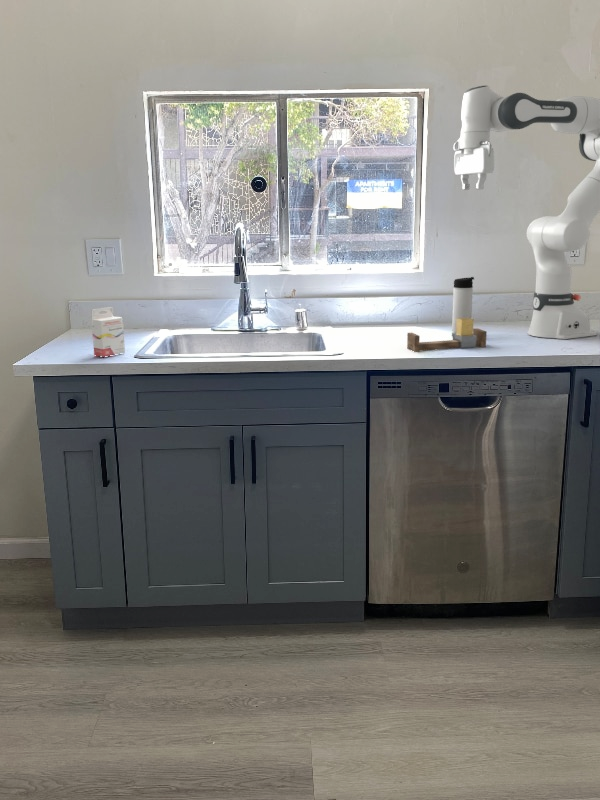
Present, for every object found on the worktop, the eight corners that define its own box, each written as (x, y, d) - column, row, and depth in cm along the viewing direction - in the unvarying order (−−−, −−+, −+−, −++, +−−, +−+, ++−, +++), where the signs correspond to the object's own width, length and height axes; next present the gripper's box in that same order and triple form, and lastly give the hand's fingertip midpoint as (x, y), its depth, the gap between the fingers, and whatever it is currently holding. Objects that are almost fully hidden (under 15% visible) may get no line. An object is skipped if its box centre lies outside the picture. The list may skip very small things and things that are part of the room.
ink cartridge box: (103, 358, 225) (99, 310, 221) (93, 356, 228) (89, 309, 224) (126, 353, 231) (122, 307, 227) (116, 352, 234) (112, 306, 230)
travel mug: (471, 338, 245) (474, 278, 240) (451, 338, 246) (453, 278, 241) (471, 335, 251) (474, 276, 245) (451, 334, 252) (453, 276, 247)
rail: (476, 343, 236) (477, 328, 235) (485, 347, 230) (486, 331, 229) (407, 348, 231) (407, 332, 229) (414, 352, 225) (414, 336, 224)
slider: (466, 343, 235) (467, 316, 233) (475, 346, 229) (477, 319, 227) (452, 344, 234) (453, 317, 232) (461, 348, 228) (462, 320, 226)
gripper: (500, 140, 216) (498, 188, 220) (469, 145, 235) (467, 190, 239) (481, 140, 215) (479, 189, 218) (451, 145, 234) (449, 190, 238)
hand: (472, 189), depth 229 cm, fingers open, 8 cm apart
